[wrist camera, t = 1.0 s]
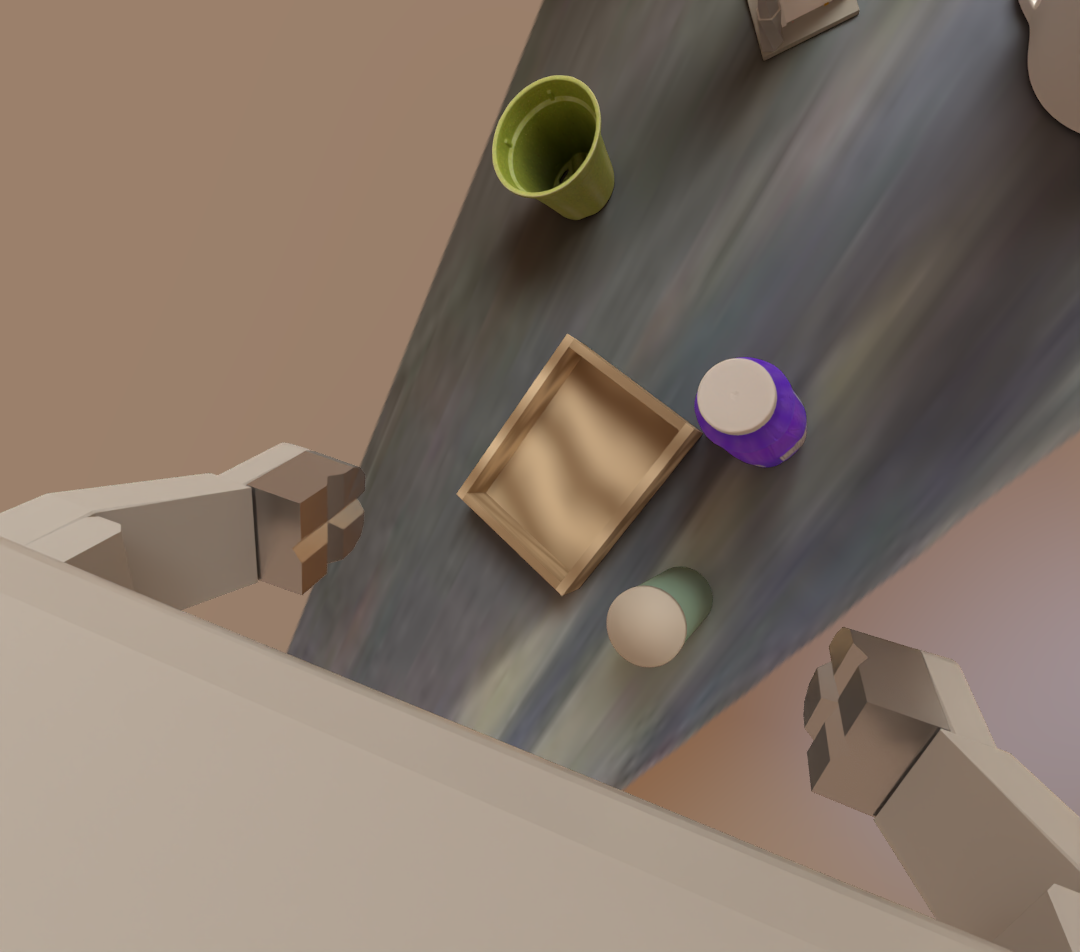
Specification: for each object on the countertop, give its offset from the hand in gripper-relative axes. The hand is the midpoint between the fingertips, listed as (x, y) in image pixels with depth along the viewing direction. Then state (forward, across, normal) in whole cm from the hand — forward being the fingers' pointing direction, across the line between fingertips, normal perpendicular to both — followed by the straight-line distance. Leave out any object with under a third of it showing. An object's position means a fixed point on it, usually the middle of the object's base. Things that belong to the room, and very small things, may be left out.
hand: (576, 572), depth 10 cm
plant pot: (+51, +14, -4) cm, 53 cm away
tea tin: (+34, -5, +24) cm, 42 cm away
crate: (+40, +6, +18) cm, 44 cm away
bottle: (+40, -7, +10) cm, 42 cm away
